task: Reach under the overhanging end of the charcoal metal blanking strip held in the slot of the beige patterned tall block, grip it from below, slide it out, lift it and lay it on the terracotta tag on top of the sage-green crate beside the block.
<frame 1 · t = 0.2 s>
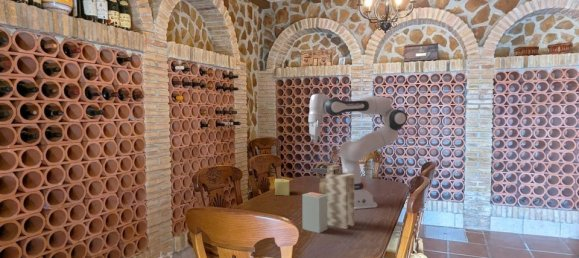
hand: (314, 142, 215), 39 cm above the table, tool pointing down, fingers open, 8 cm apart
blanking strip: (325, 172, 187), point 26 cm above the table, touching beige patterned tall block
ceramic vessel: (332, 200, 232), on the table
cheese: (282, 194, 251), on the table
crate: (314, 229, 176), on the table
beige patterned tall block: (339, 224, 183), on the table
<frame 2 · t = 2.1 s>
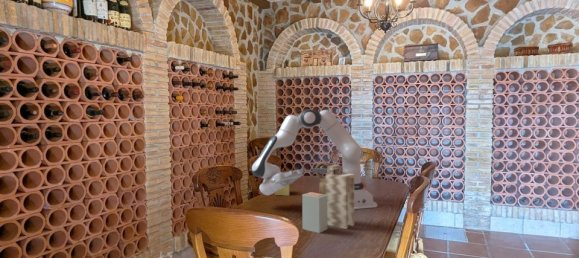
hand: (297, 170, 199), 25 cm above the table, tool pointing upward, fingers open, 8 cm apart
nothing on the table moved.
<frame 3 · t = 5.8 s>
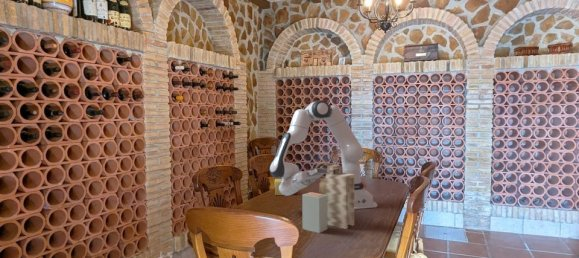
hand: (319, 169, 189), 27 cm above the table, tool pointing upward, fingers closed on blanking strip, 3 cm apart
blanking strip: (325, 172, 187), point 26 cm above the table, touching gripper, beige patterned tall block
everything else where it was.
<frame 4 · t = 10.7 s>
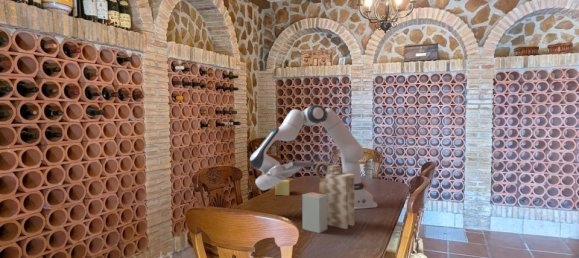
hand: (295, 162, 183), 32 cm above the table, tool pointing upward, fingers closed on blanking strip, 3 cm apart
blanking strip: (301, 166, 181), point 30 cm above the table, touching gripper
everything else where it was.
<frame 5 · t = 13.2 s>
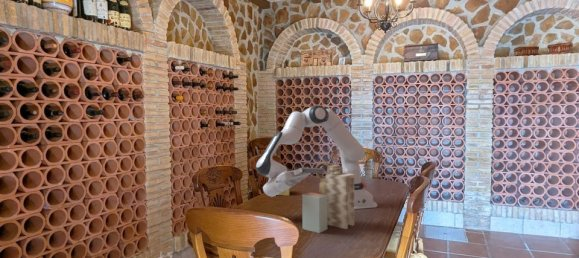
hand: (305, 168, 178), 29 cm above the table, tool pointing upward, fingers closed on blanking strip, 3 cm apart
blanking strip: (310, 172, 176), point 28 cm above the table, touching gripper
everything else where it was.
when the fingers open (20 cm above the table, at t = 15.4 s): blanking strip drops 1 cm, resting on crate.
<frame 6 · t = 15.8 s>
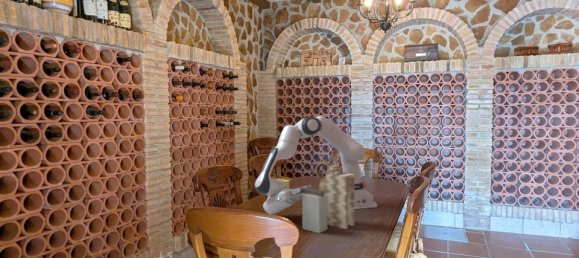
hand: (305, 187, 179), 20 cm above the table, tool pointing upward, fingers open, 7 cm apart
blanking strip: (310, 193, 177), point 17 cm above the table, touching crate
everything else where it was.
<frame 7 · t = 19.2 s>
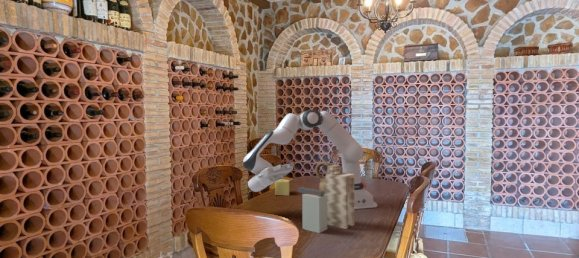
hand: (286, 164, 186), 30 cm above the table, tool pointing upward, fingers open, 8 cm apart
nothing on the table moved.
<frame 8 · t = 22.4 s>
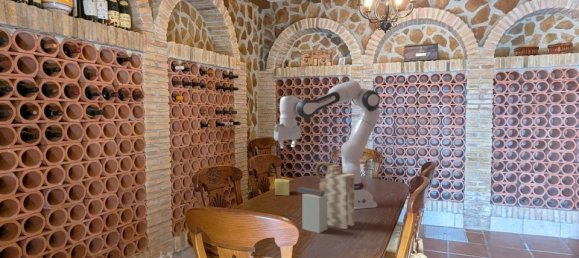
hand: (287, 147, 204), 37 cm above the table, tool pointing down, fingers open, 8 cm apart
nothing on the table moved.
at the end: blanking strip inside the target area on the crate (2.4 cm from its centre), point 17.3 cm above the crate's base; blanking strip tilted 0°; the gripper is holding nothing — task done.
